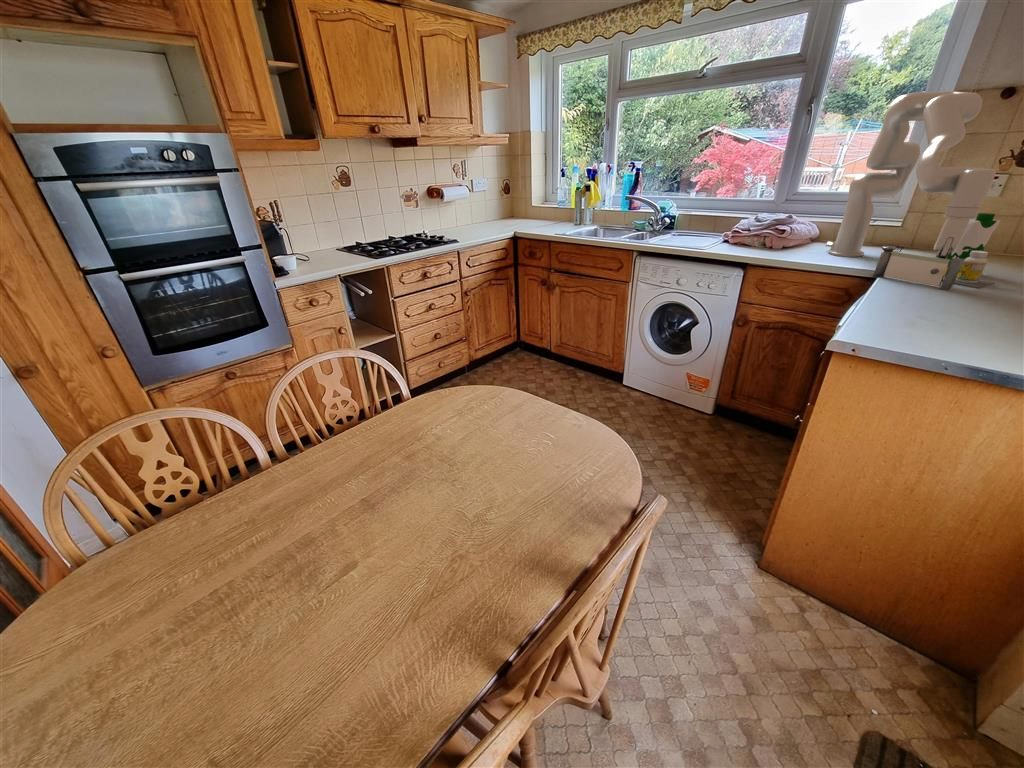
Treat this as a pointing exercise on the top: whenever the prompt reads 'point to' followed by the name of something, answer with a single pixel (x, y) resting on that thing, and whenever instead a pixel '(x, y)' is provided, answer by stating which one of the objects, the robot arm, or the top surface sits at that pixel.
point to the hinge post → (883, 261)
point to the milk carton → (975, 236)
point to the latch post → (951, 273)
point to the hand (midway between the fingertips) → (935, 271)
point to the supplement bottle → (972, 267)
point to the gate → (917, 268)
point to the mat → (975, 285)
